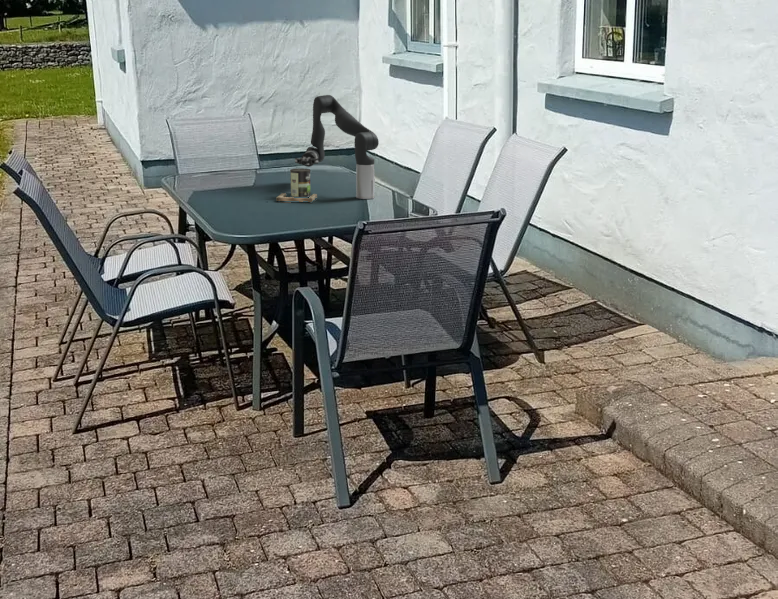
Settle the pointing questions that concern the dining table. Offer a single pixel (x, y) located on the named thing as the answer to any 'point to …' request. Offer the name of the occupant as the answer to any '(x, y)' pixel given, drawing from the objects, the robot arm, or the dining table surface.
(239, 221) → the dining table surface
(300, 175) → the coffee can
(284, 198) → the dock bay
